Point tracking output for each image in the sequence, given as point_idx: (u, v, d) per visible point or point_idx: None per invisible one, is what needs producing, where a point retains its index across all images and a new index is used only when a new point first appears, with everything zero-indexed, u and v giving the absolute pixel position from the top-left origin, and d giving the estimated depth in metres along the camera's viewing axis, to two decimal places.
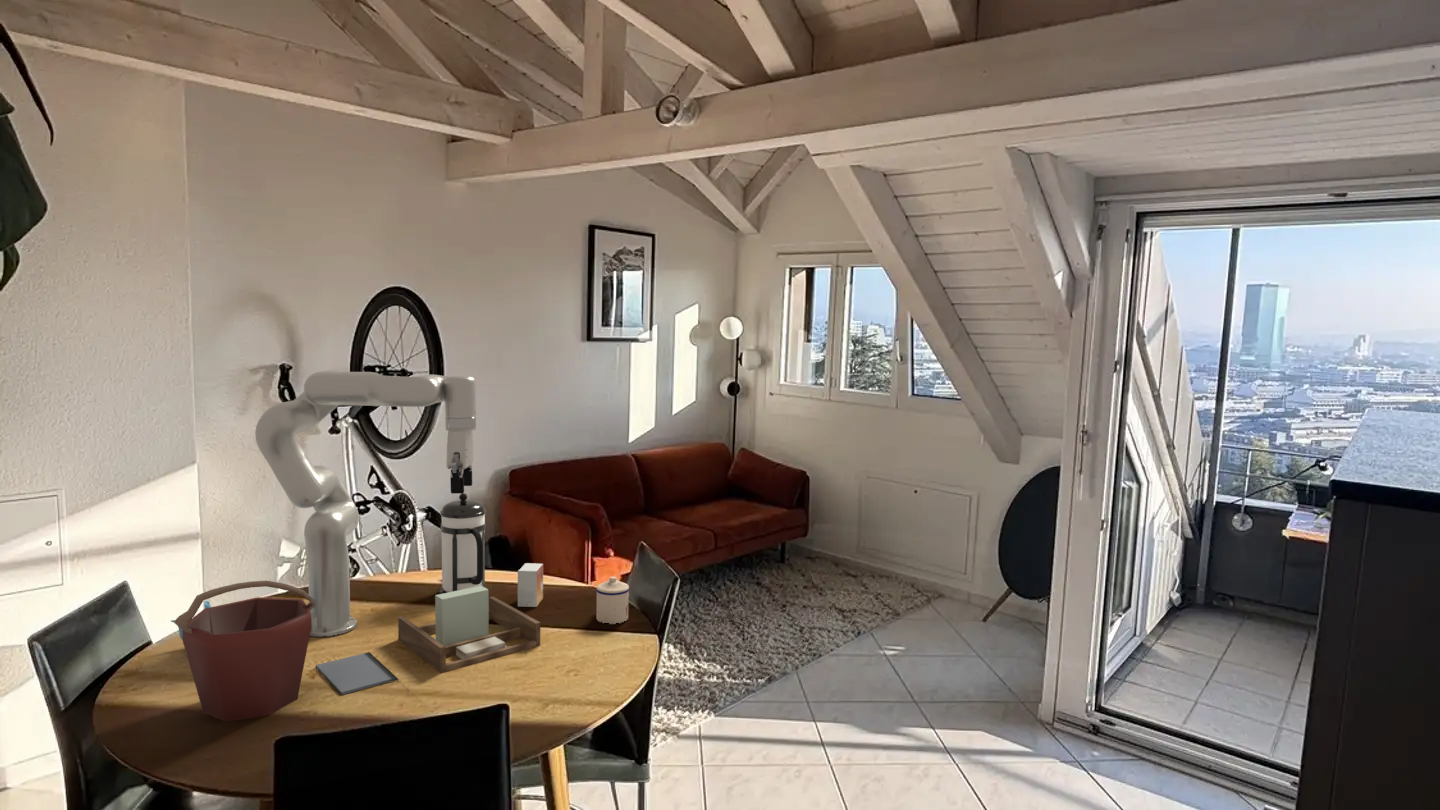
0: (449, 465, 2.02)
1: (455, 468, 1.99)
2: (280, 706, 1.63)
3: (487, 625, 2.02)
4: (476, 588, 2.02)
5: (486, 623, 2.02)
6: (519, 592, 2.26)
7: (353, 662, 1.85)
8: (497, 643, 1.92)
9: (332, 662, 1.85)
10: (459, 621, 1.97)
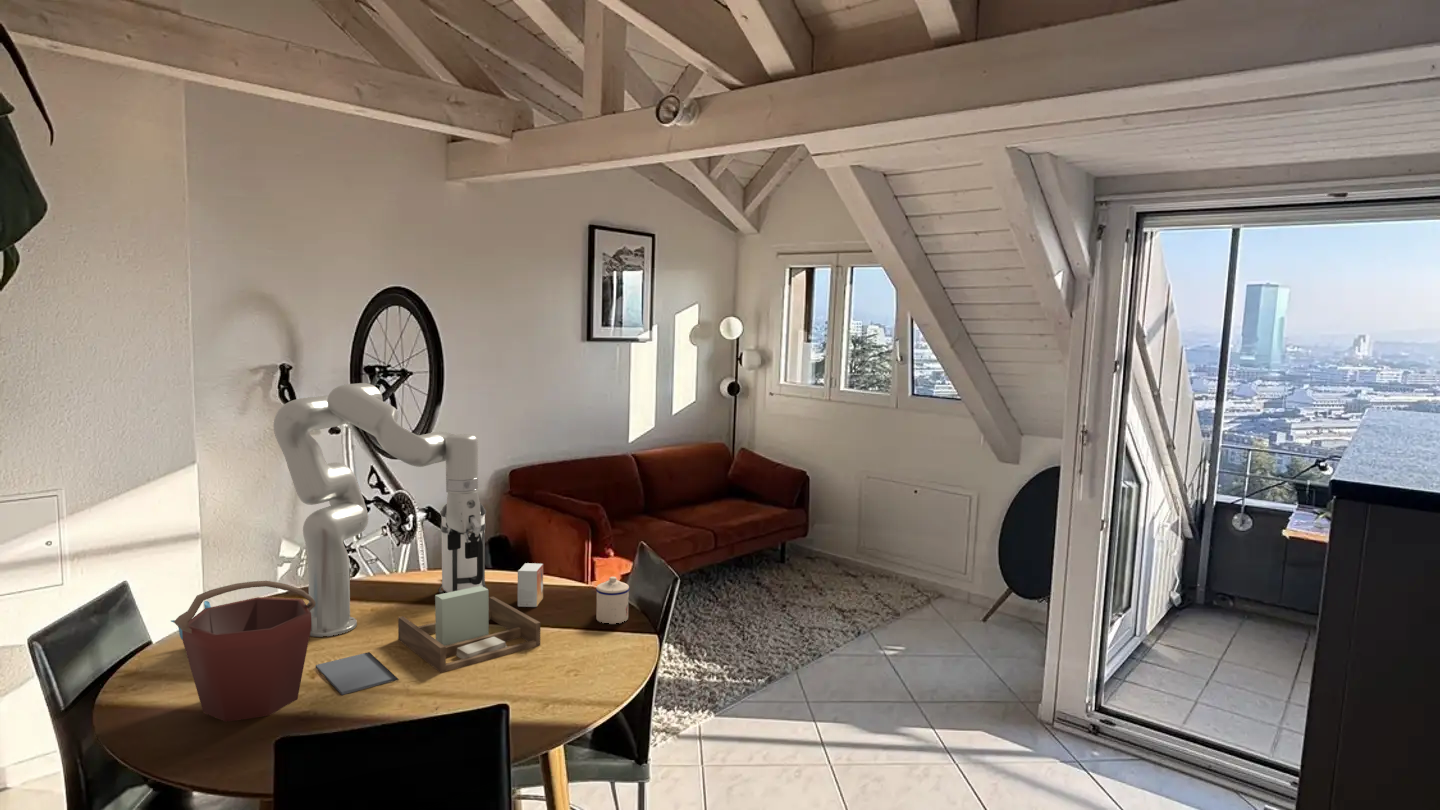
0: None
1: None
2: (280, 706, 1.63)
3: (487, 625, 2.02)
4: (476, 588, 2.02)
5: (486, 623, 2.02)
6: (519, 592, 2.26)
7: (353, 662, 1.85)
8: (498, 643, 1.92)
9: (332, 662, 1.85)
10: (459, 621, 1.97)
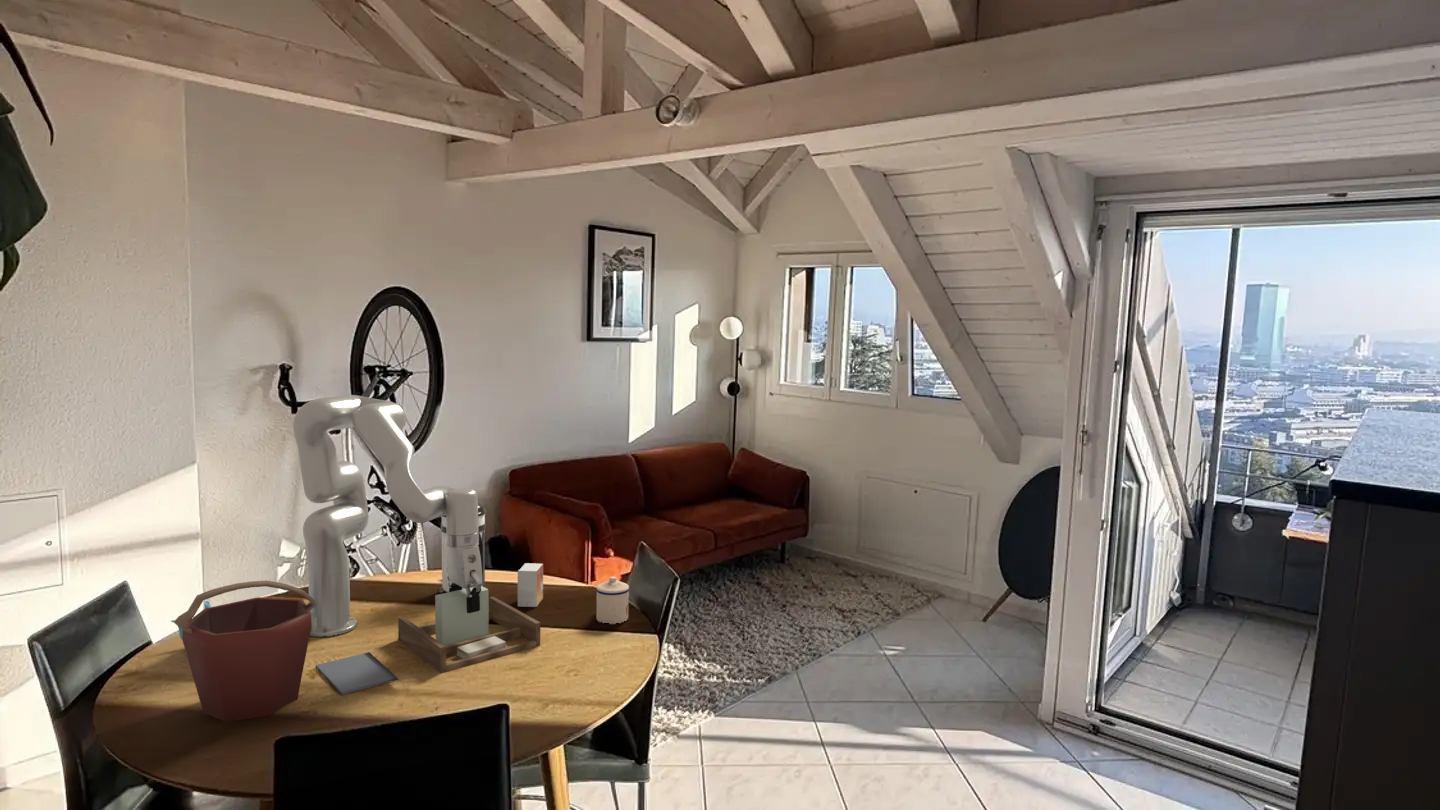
0: None
1: None
2: (280, 706, 1.63)
3: (487, 625, 2.02)
4: None
5: (486, 623, 2.02)
6: (519, 592, 2.26)
7: (353, 662, 1.85)
8: (498, 642, 1.92)
9: (332, 662, 1.85)
10: (459, 621, 1.97)
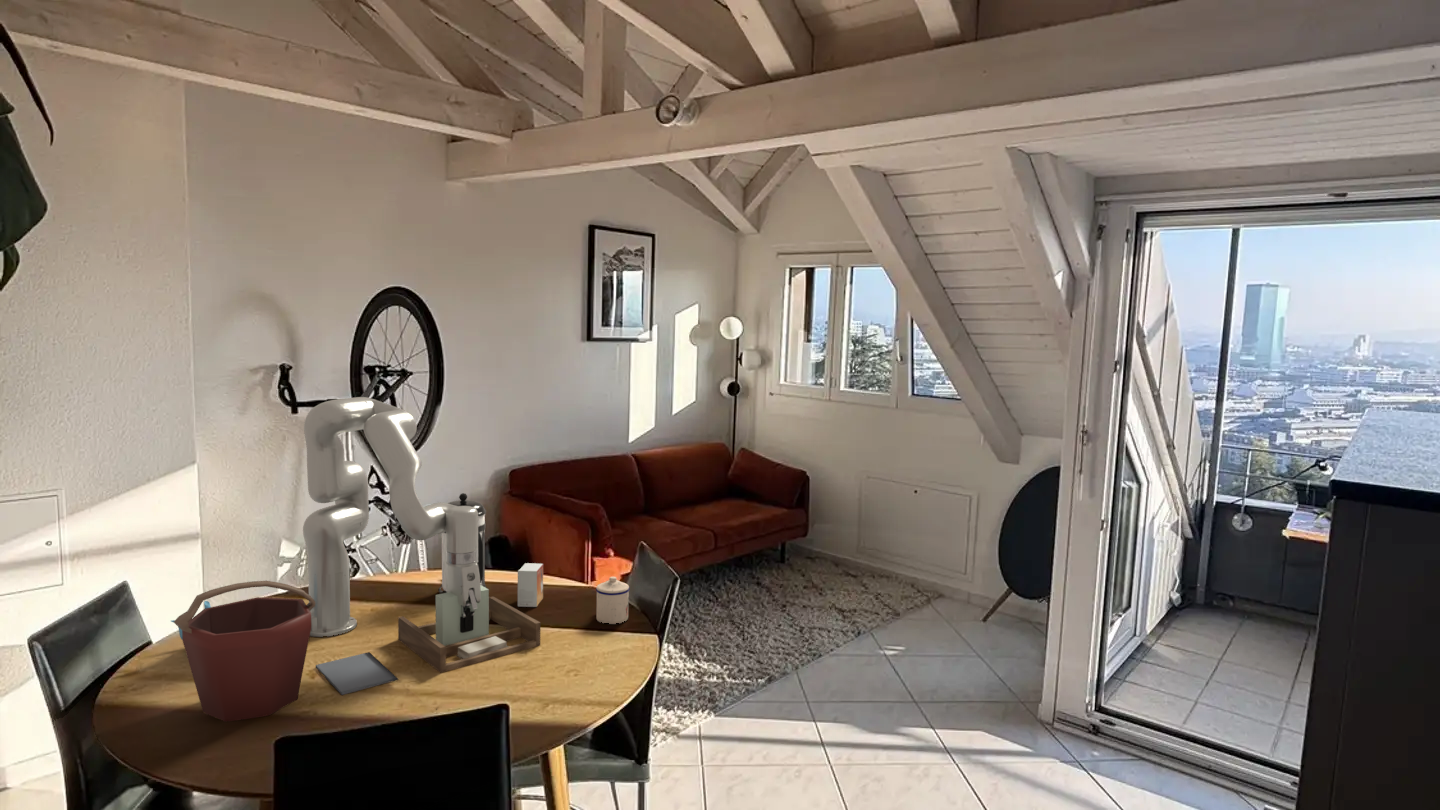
0: None
1: None
2: (280, 706, 1.63)
3: (487, 625, 2.02)
4: None
5: (487, 623, 2.02)
6: (519, 592, 2.26)
7: (353, 662, 1.85)
8: (499, 642, 1.92)
9: (332, 662, 1.85)
10: (459, 620, 1.97)
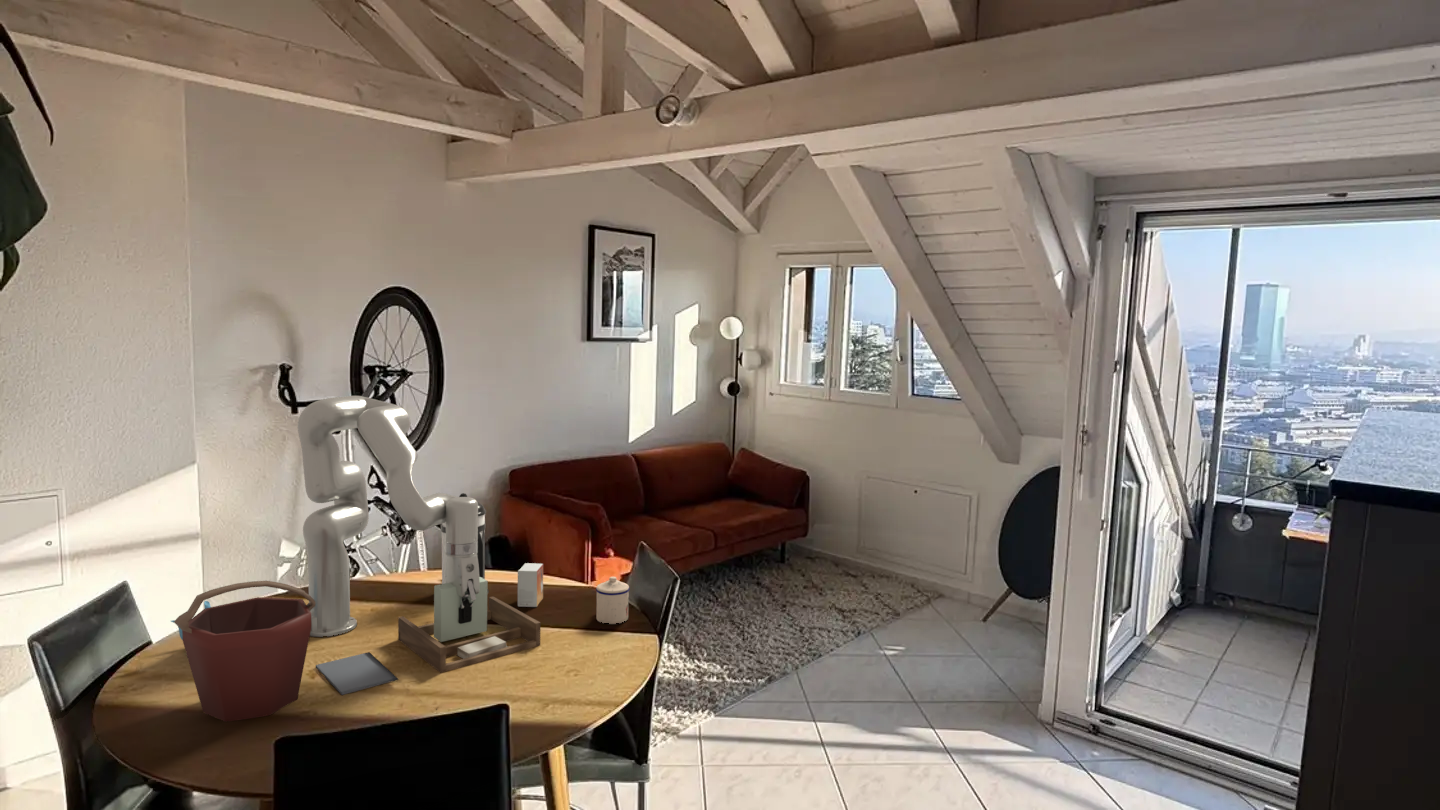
0: None
1: None
2: (280, 706, 1.63)
3: (485, 616, 2.02)
4: None
5: (485, 614, 2.02)
6: (519, 592, 2.26)
7: (353, 662, 1.85)
8: (498, 643, 1.92)
9: (332, 662, 1.85)
10: (458, 611, 1.97)
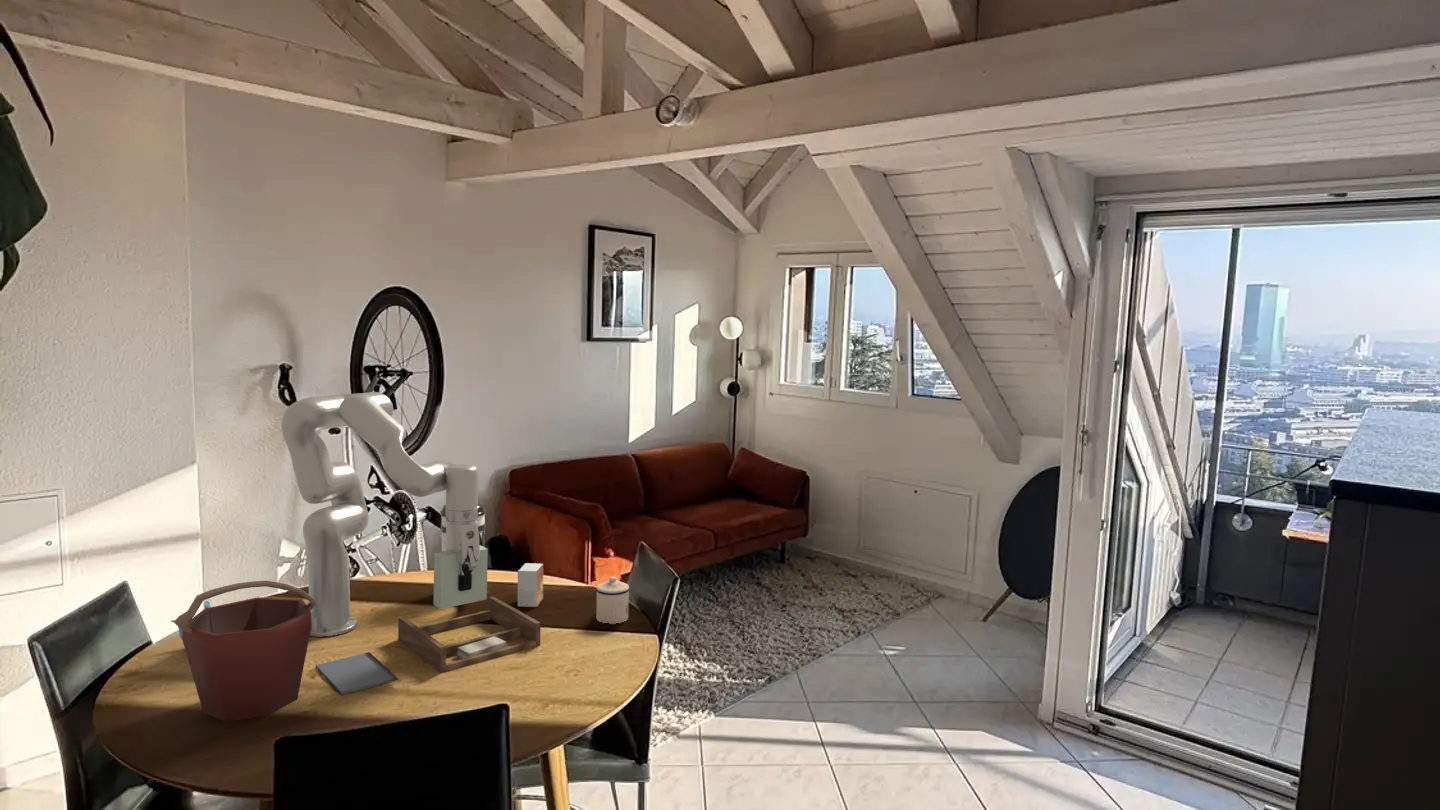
0: None
1: None
2: (280, 706, 1.63)
3: (485, 585, 2.01)
4: None
5: (485, 583, 2.01)
6: (519, 592, 2.26)
7: (353, 662, 1.85)
8: (498, 642, 1.92)
9: (332, 662, 1.85)
10: None
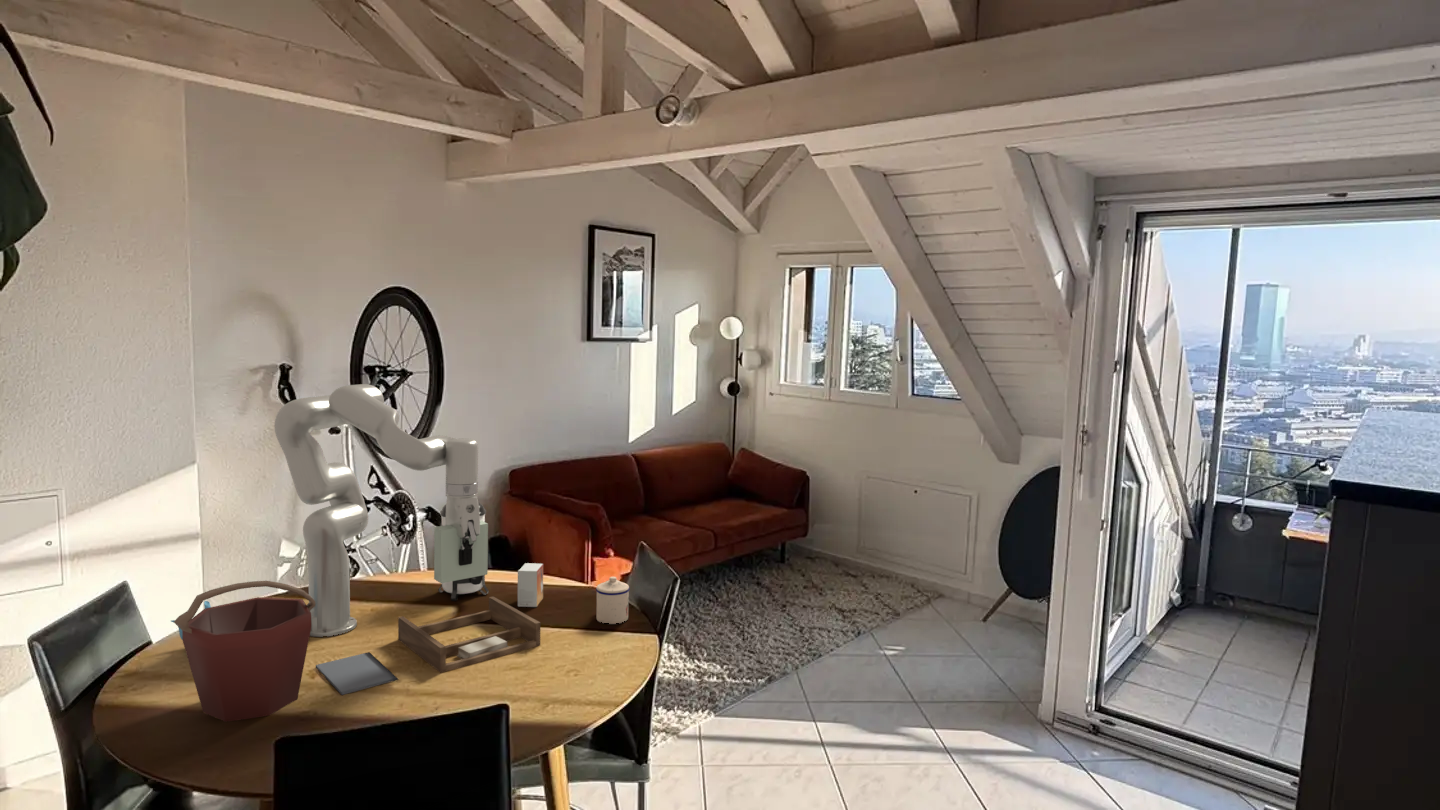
0: None
1: None
2: (280, 706, 1.63)
3: (486, 559, 2.01)
4: None
5: (485, 557, 2.00)
6: (519, 592, 2.26)
7: (353, 662, 1.85)
8: (499, 642, 1.92)
9: (332, 662, 1.85)
10: (458, 553, 1.95)
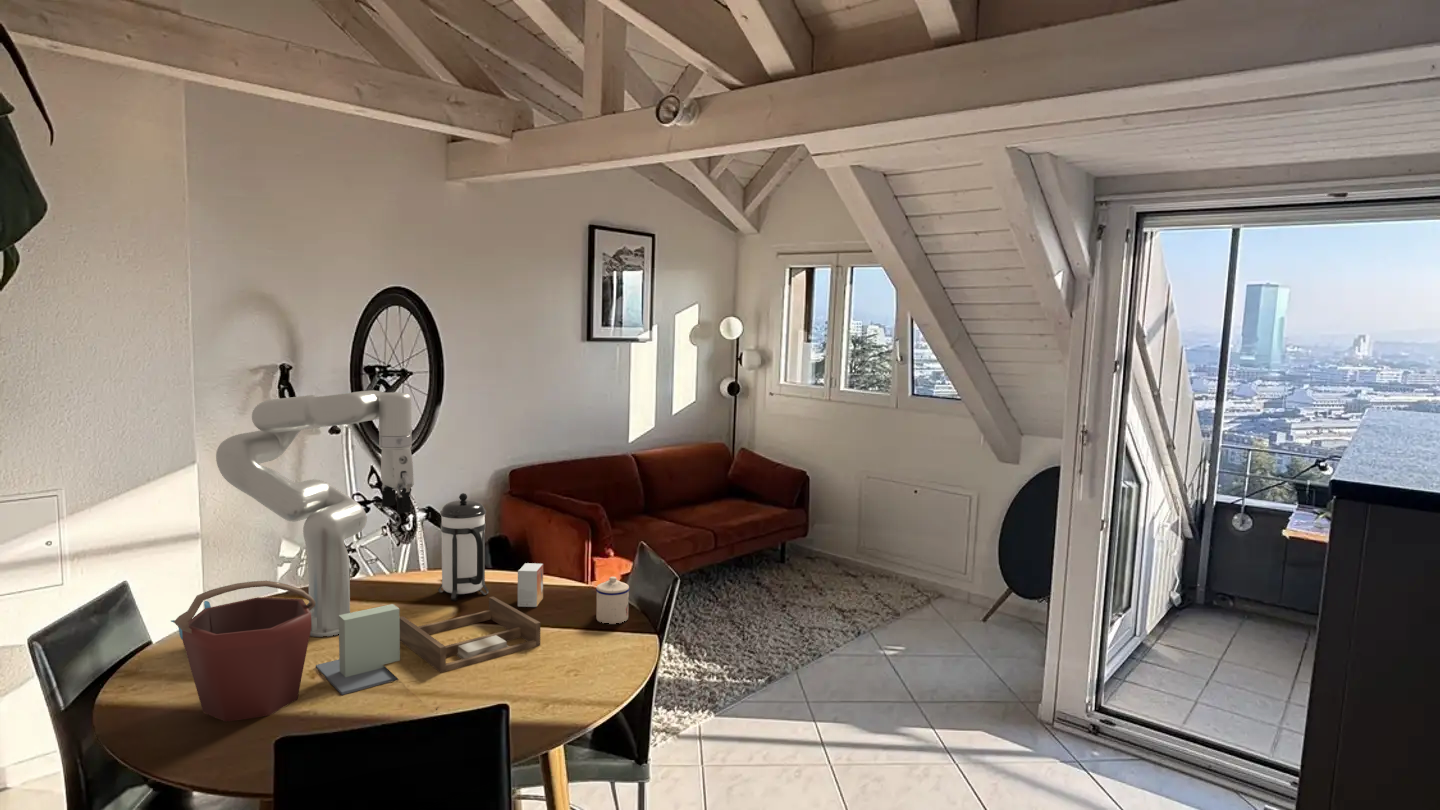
0: None
1: None
2: (280, 706, 1.63)
3: (398, 647, 1.85)
4: (386, 607, 1.85)
5: (397, 645, 1.85)
6: (519, 592, 2.26)
7: None
8: (499, 642, 1.92)
9: (332, 662, 1.85)
10: (365, 643, 1.80)
